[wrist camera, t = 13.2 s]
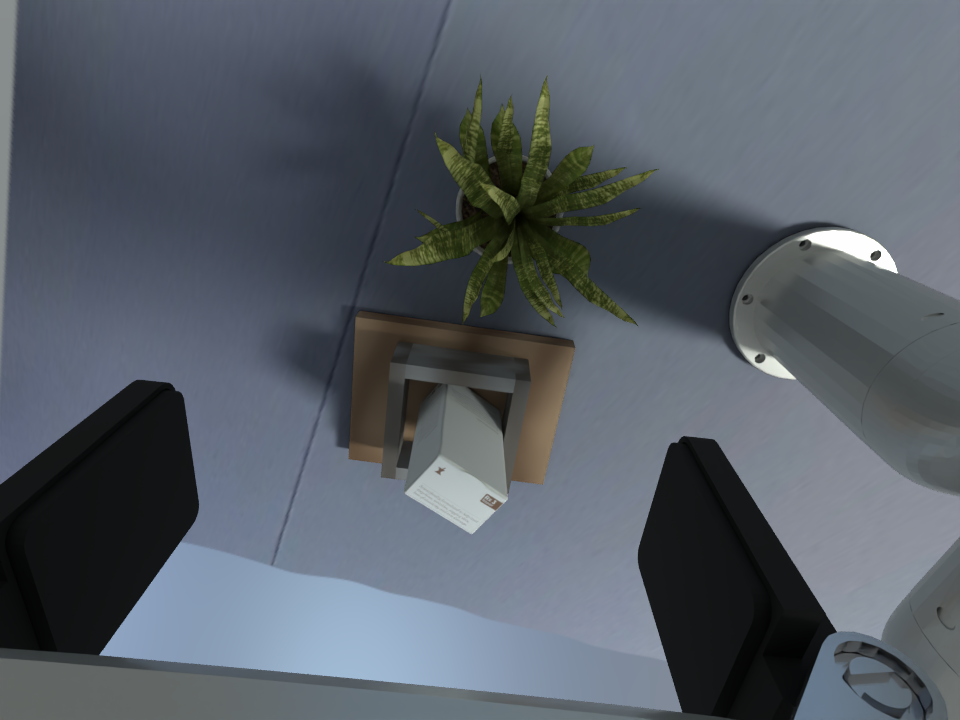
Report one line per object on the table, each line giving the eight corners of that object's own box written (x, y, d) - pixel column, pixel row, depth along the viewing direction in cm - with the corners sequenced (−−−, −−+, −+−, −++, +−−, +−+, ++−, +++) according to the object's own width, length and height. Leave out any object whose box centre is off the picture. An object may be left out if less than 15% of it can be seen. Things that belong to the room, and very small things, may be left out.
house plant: (658, 157, 40) (751, 191, 26) (559, 314, 46) (590, 418, 31) (484, 54, 38) (477, 27, 23) (402, 234, 43) (353, 304, 29)
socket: (572, 340, 47) (582, 369, 42) (541, 474, 53) (546, 513, 48) (359, 310, 46) (343, 336, 41) (352, 449, 52) (337, 486, 47)
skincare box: (418, 405, 48) (395, 495, 37) (449, 368, 47) (435, 452, 36) (474, 442, 50) (468, 540, 39) (506, 409, 48) (509, 501, 37)
